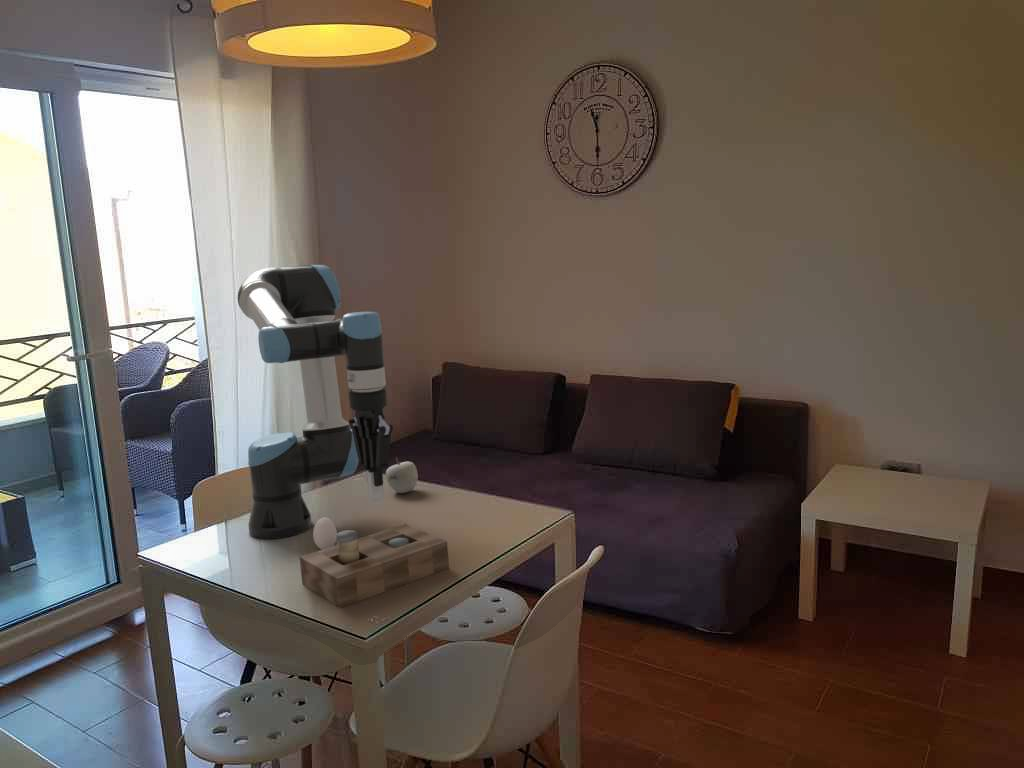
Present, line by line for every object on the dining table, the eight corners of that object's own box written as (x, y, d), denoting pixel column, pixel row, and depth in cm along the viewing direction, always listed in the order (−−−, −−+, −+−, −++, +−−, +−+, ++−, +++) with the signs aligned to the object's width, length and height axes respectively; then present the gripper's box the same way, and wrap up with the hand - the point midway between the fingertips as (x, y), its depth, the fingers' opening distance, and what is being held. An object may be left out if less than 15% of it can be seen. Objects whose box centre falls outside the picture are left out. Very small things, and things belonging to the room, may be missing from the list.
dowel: (334, 560, 168) (332, 534, 167) (353, 554, 170) (350, 528, 169) (345, 566, 165) (342, 539, 164) (363, 560, 167) (361, 533, 166)
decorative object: (417, 496, 225) (415, 461, 223) (385, 498, 225) (383, 463, 223) (420, 486, 234) (417, 452, 232) (389, 488, 233) (386, 454, 231)
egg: (317, 555, 185) (314, 523, 184) (312, 548, 190) (309, 516, 189) (341, 550, 188) (338, 518, 186) (334, 543, 192) (332, 512, 191)
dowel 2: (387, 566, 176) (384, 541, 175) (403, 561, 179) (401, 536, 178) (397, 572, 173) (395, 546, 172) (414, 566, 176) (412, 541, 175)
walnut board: (302, 584, 170) (299, 556, 169) (407, 548, 187) (405, 523, 186) (340, 607, 158) (337, 578, 157) (449, 567, 175) (447, 541, 173)
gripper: (334, 388, 168) (344, 498, 173) (369, 395, 159) (379, 511, 163) (365, 382, 173) (374, 489, 178) (401, 388, 164) (409, 501, 168)
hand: (376, 499), depth 170 cm, fingers closed
